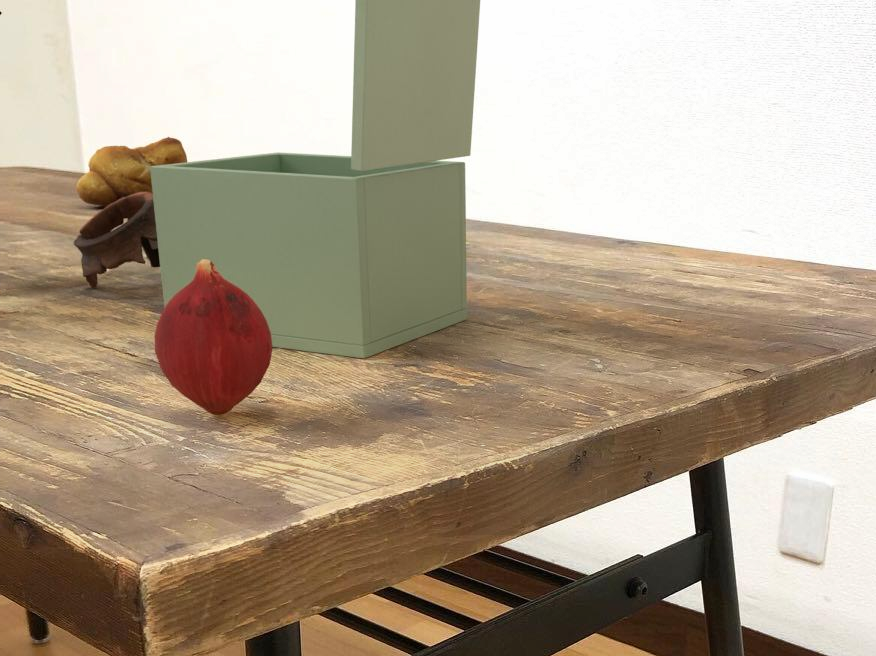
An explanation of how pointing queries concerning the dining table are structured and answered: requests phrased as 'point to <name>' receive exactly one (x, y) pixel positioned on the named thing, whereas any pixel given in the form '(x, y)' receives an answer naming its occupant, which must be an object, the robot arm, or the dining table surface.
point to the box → (321, 244)
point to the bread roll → (126, 170)
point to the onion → (213, 342)
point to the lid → (413, 81)
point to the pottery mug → (119, 236)
